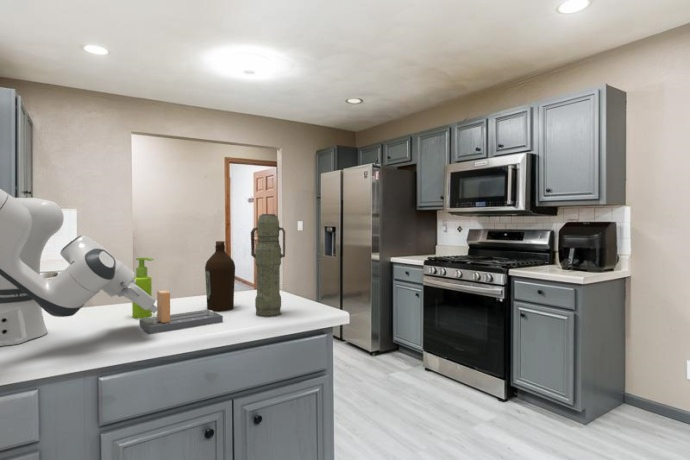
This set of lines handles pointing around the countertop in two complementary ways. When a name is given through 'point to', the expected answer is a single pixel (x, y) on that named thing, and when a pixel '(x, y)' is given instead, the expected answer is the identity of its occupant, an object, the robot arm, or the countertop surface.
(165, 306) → the fader lever
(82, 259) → the robot arm
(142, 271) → the soap dispenser
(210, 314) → the console
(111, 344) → the countertop surface
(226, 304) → the olive oil
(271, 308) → the thermos
